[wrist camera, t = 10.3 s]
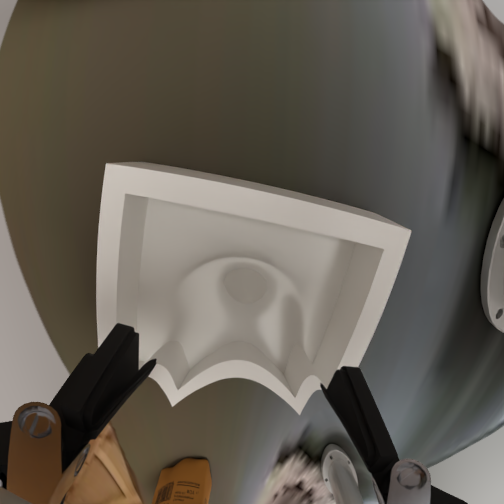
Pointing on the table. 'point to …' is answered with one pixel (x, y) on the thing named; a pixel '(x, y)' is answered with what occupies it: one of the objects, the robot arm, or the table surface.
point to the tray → (241, 254)
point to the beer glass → (223, 408)
